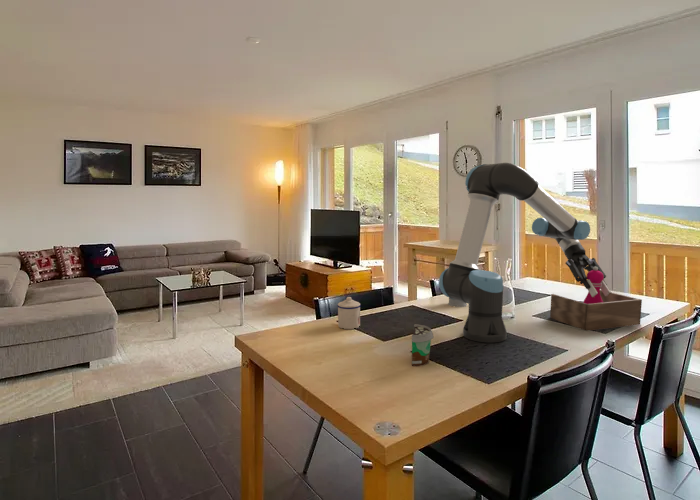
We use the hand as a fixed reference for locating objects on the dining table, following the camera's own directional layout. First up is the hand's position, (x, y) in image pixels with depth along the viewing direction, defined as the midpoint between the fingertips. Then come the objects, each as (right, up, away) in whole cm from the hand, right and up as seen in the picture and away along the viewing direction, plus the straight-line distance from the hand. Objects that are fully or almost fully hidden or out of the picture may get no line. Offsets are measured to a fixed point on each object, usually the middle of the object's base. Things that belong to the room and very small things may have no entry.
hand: (601, 294), depth 174 cm
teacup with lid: (-100, -13, +2) cm, 101 cm away
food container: (-77, -17, -37) cm, 87 cm away
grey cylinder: (-46, -8, +33) cm, 57 cm away
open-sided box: (-1, -11, +5) cm, 12 cm away
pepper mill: (-1, -9, +5) cm, 10 cm away
